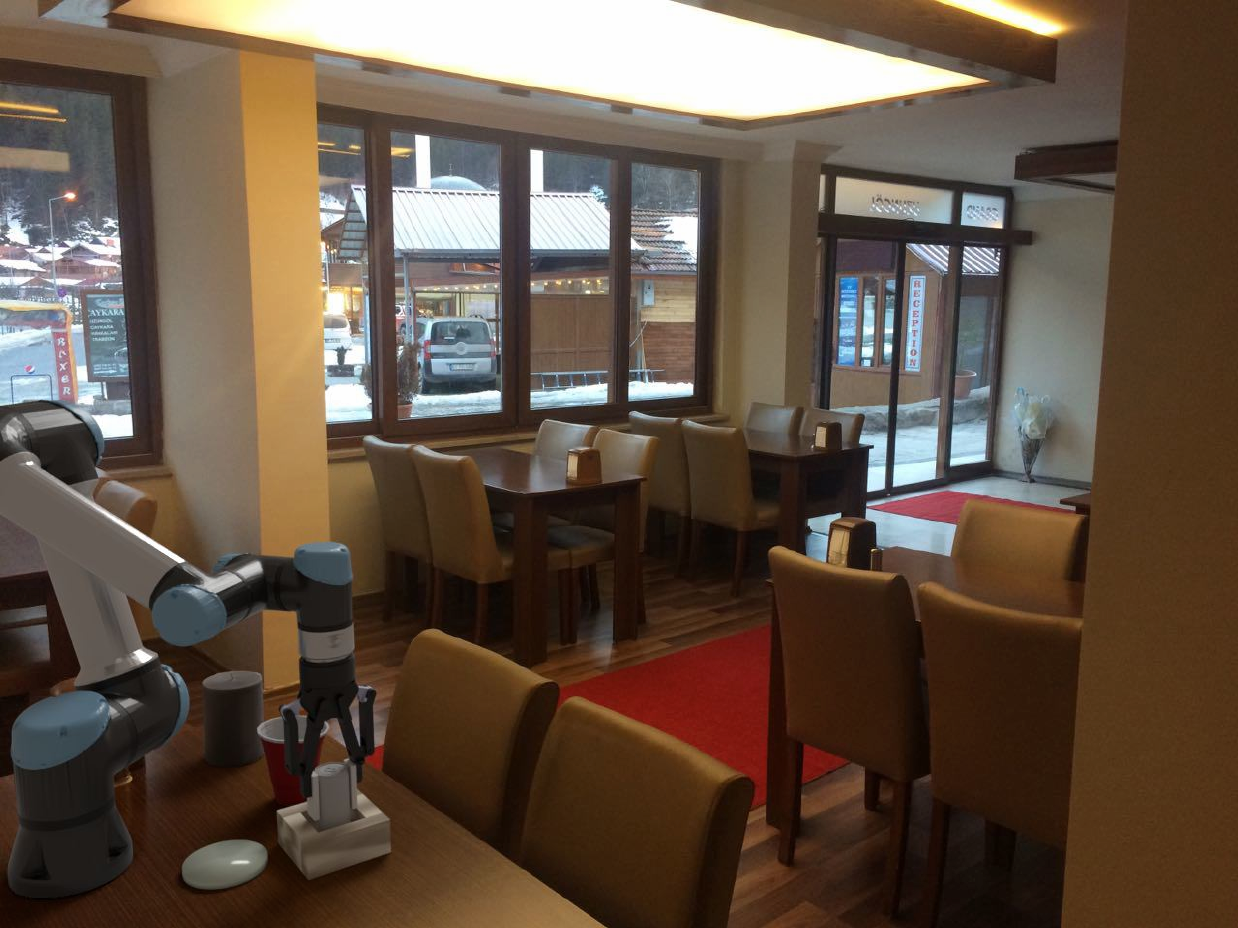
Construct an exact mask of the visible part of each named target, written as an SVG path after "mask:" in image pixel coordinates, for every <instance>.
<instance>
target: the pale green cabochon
mask: <svg viewBox="0 0 1238 928" xmlns="http://www.w3.org/2000/svg"><path fill="white" fill-rule="evenodd" d="M267 864H268V850H267V848H266V847H265V846H264V845H263V844H262V843H259V842H257V841H253V840H249V839H228V840H221V841H217V842H214V843H211V844H208V845H206V846H204V847H201V848H199V849H197V850H195V851H193V852H192V853H190V855H188V856H187V858H185V860H184V861H183V863H182V866H181V874H182V879H183V882H185V883H186V884H187V885H188V886H189V887H192V888H196V889H200V890H222V889H229V888H233V887H235V886H236V887H237V886H238V885H242V884H245V883H247V882H249V881H251V880H252V879H255V878H256V877H257V876H258V875H260V874H261V873H262V872H264V870H265V869H266V867H267V866H268V865H267Z"/></svg>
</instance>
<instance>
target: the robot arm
mask: <svg viewBox="0 0 1238 928" xmlns="http://www.w3.org/2000/svg"><path fill="white" fill-rule="evenodd" d="M100 427H101V426H100V425H99V424H98V422H97V420H96V419H95V418H94V417H93V415H92V414H91V413H90V412H89V411H87V410H86V409H84V408H83V407H81V406H79V405H78V404H76V403H74V402H71V401H67V400H64V399H63V400H61V399H54V400H50V399H37V400H32V401H26V402H19V403H18V402H17V403H11V404H10V403H9V404H2V405H0V515H1V516H2V517H4V518H6V519H7V520H9V521H10V522H12V523H14V524H15V525H17V526H19V528H20V529H23V530H25V531H26V532H28V533H29V534H31V535H32V536H34V537H35V538H36V540H37V543H38V546H39V549H40V551H41V552H40V553H41V555H42V557H43V558H42V559H43V561H44V563H45V567H46V569H47V573H48V575H49V577H50V581H51V584H52V587H53V590H54V593H55V596H56V598H57V599H56V600H57V601H58V605H59V607H60V610H61V614H62V616H63V619H64V622H65V625H66V628H67V631H68V634H69V637H70V639H71V641H72V645H73V648H74V651H75V655H76V658H77V659H78V663H79V666H80V671H79V673H78V674H77V677H76V678H75V680H74V681H73V687H74V689H75V691H74V690H73V691H67V692H62V693H60V694H59V695H58V696H49V697H46V698H44V699H41V700H39V701H37V702H35V703H34V704H31V705H30V706H29V707H27V708H26V709H25V710H23V711H22V712H21V713H20V714H19V715H18V716H17V718H16V719H15V721H14V723H13V725H12V727H11V746H10V757H11V758H12V769H13V778H14V788H15V798H16V806H17V807H16V808H17V816H18V817H17V818H18V828H17V832H16V835H15V840H14V843H13V846H12V850H11V854H10V858H9V860H8V863H7V880H8V882H7V883H8V887H9V886H10V887H9V889H10V888H11V889H12V890H11V889H10V890H11V891H12V892H13V891H14V892H15V894H16V895H18V894H19V895H18V896H20V895H22V896H21V897H23V896H25V897H24V898H27V897H29V898H28V899H33V898H53V899H59V898H58V897H61V898H66V897H65V896H67V897H71V896H70V895H72V896H75V894H76V895H78V894H82V893H85V892H86V893H87V892H88V891H91V890H95V889H97V888H98V887H100V886H103V885H105V884H107V883H109V882H110V881H112V880H114V879H116V878H117V877H118V876H120V875H121V874H122V873H124V872H125V870H127V869H128V867H129V866H130V865H131V864H132V861H133V858H134V851H133V850H134V849H133V840H132V837H131V834H130V833H129V830H128V827H126V824H125V821H124V820H123V819H122V816H121V814H120V812H119V810H118V808H117V807H116V798H115V797H116V795H115V781H114V777H115V775H116V774H117V773H119V772H121V771H122V770H124V769H126V768H128V767H129V766H130V765H132V764H134V763H135V762H137V761H138V760H140V759H141V758H143V757H144V756H146V755H148V754H149V753H151V752H152V751H156V750H157V749H159V748H161V747H162V746H164V745H165V744H166V743H167V742H168V741H169V740H170V739H172V737H174V736H176V735H177V733H178V732H179V731H181V729H182V728H183V726H184V723H185V722H186V720H187V719H188V718H187V717H188V715H189V710H190V695H189V694H190V693H189V690H188V687H187V685H186V683H185V681H184V679H183V677H182V676H181V675H180V674H179V673H178V672H174V669H173V668H172V667H171V666H169V665H166V664H163V663H161V661H160V656H159V655H158V653H157V652H155V651H152V650H151V649H148V648H146V647H145V646H144V645H143V642H142V639H141V636H140V633H139V631H138V627H137V624H136V621H135V618H134V615H133V613H132V609H131V606H130V604H129V600H128V598H127V597H129V598H131V599H132V600H133V601H136V602H137V603H138V604H140V605H141V606H143V607H145V608H146V609H147V610H149V611H151V620H152V625H153V627H154V629H156V631H157V633H158V634H159V636H160V638H161V639H162V640H164V641H165V642H166V643H168V644H170V645H172V646H177V647H188V646H192V645H196V644H198V643H201V642H203V641H207V640H210V639H212V638H214V637H216V636H217V635H219V633H220V632H223V631H224V630H226V629H227V628H228V629H229V628H230V627H232V626H234V625H236V624H239V623H240V622H242V621H245V620H246V619H248V618H250V617H252V616H254V615H255V614H258V613H259V612H261V611H277V612H288V613H289V612H295V613H296V622H297V624H296V625H297V652H298V655H300V657H299V659H298V671H299V672H298V673H299V675H298V677H299V691H298V694H297V697H296V699H294V700H293V701H292V702H290V703H288V704H286V703H281V704H280V705H279V706H278V712H279V714H280V717H282V719H283V725H284V750H285V768H286V770H287V771H288V772H289V773H290V774H291V775H292V776H294V777H296V776H300V792H301V794H302V795H303V796H304V797H305V798H307V808H308V814H309V815H310V816H311V817H312V818H313V820H314V821H316V820H319V819H320V808H319V783H318V775H317V774H316V773H315V772H314V771H313V769H314V764H315V759H316V754H317V749H318V744H319V739H320V735H321V730H322V729H323V727H324V723H325V722H327V721H329V720H331V719H337V722H338V725H339V729H340V731H341V735H342V738H343V739H342V740H343V742H344V745H345V748H346V751H347V755H348V757H349V758H345V759H343V763H344V764H346V765H347V767H348V771H349V789H350V807H351V808H352V809H355V808H358V807H357V789H358V787H357V786H358V785H357V784H359V783H362V780H363V765H364V764H365V763H366V759H365V758H367V757H370V756H373V755H374V754H375V752H376V751H375V750H376V749H375V748H376V747H375V745H376V743H375V721H374V703H375V701H376V697H377V691H376V690H375V689H374V688H373V687H371V686H370V685H369V684H364V685H363V686H361V685H358V682H357V681H356V658H355V656H356V655H355V654H354V649H355V628H354V625H355V624H354V615H353V610H354V609H353V579H354V573H353V571H352V559H351V551H350V550H349V548H348V546H346V545H345V544H343V543H341V542H340V543H339V542H334V541H323V542H322V541H321V542H319V541H315V542H309V543H304V544H302V545H299V546H297V548H295V550H294V552H293V553H294V554H293V556H291V557H289V556H279V555H267V554H266V555H265V554H256V553H250V552H243V553H227V554H225V555H223V556H221V557H220V558H219V559H218V561H217V563H216V564H214V565H213V567H212V569H211V571H210V573H208V572H205V571H204V570H202V569H200V568H199V567H197V566H196V565H194V564H192V563H190V562H189V561H187V560H186V559H184V558H182V557H181V556H179V555H177V554H176V553H175V552H173V551H172V550H170V549H168V548H167V547H165V546H164V545H162V544H161V543H159V542H157V541H156V540H154V539H153V538H151V537H149V536H148V535H146V534H145V533H143V532H142V531H141V530H138V529H137V528H136V527H134V526H132V525H131V524H129V523H127V522H126V521H125V520H123V519H121V518H119V516H117V515H115V514H114V513H112V512H111V511H109V510H107V509H105V508H104V507H103V506H101V505H99V504H98V503H97V502H95V499H94V496H93V494H94V491H95V490H96V487H97V486H98V484H99V482H100V478H99V476H98V472H97V469H96V468H97V466H98V465H99V464H100V463H101V461H102V459H103V456H102V454H103V453H104V452H105V440H104V439H105V438H104V435H103V431H102V430H101V428H100ZM355 699H357V701H358V704H357V706H358V725H359V726H358V727H359V729H358V730H359V740H358V736H357V734H356V731H355V727H354V723H353V717H352V713H351V710H350V707H351V705H352V704H353V702H354V700H355ZM302 708H303V709H304V711H306V713H307V714H306V716H307V719H306V723H307V726H306V731H305V736H304V741H303V746H302V751H301V756H300V760H299V735H298V723H297V718H298V717H299V716H300V710H301V709H302ZM14 892H13V893H14Z"/></svg>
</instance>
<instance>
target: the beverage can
mask: <svg viewBox="0 0 1238 928" xmlns="http://www.w3.org/2000/svg"><path fill="white" fill-rule="evenodd" d="M314 772H315V773H316V774H317V775H318V783H319V808H320V819H319V820H316V831H317V832H318V833H319V832H322V831H325V830H328V829H331V828H335V827H338V826H341V825H344V824H347V823H351V818H350V789H349V771H348V767H347V765H346V764H344V762H339V761H330V762H325V763H322V764H319V766H318V767H316V769H315V771H314Z"/></svg>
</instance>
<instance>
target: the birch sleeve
mask: <svg viewBox="0 0 1238 928" xmlns="http://www.w3.org/2000/svg"><path fill="white" fill-rule="evenodd" d="M357 807H358V808H355V809H352V808H351V807H350V818H351V823H347V824H344V825H341V826H338V827H335V828H331V829H328V830H325V831H322V832H319V833H318V832H317V831H316V821H314V820H313V818H312V817H311V816H310V815H309V814H308V808H307V802H305V803H301V804H298V805H294V806H286V807H285V808H280V809H278V810H276V821H277V825H276V827H277V844H278V845H279V846H280V847H281V848H282V849H283V851H284V852H285V853H286V855H287V856H288V857H289V858H290V859H291V861H292V862H293V863H294V864H295V866H296V867H297V868H298V870H299V871H301V873H302V875H304V877H305V878H306V879H307V881H310V880H314V879H316V878H319V877H323V876H325V875H328V874H331V873H334V872H337V871H339V870H343V869H346V868H349V867H351V866H354V865H355V866H356V865H358V864H361V863H363V862H366V861H369V860H373V859H375V858H378V857H381V856H385V855H386V854H387V855H388V854H389V853H392V850H391V849H392V846H391V845H392V842H391V819H390V818H389V817H388V816H387V815H385V813H384V812H383V811H382V810H381V809H379V807H377V805H375V803H373V802H372V801H371V800H370V799H369V798H368V797H367V796H366V795H365V794H364V793H363V792H361V791H360V789H358V788H357Z"/></svg>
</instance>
